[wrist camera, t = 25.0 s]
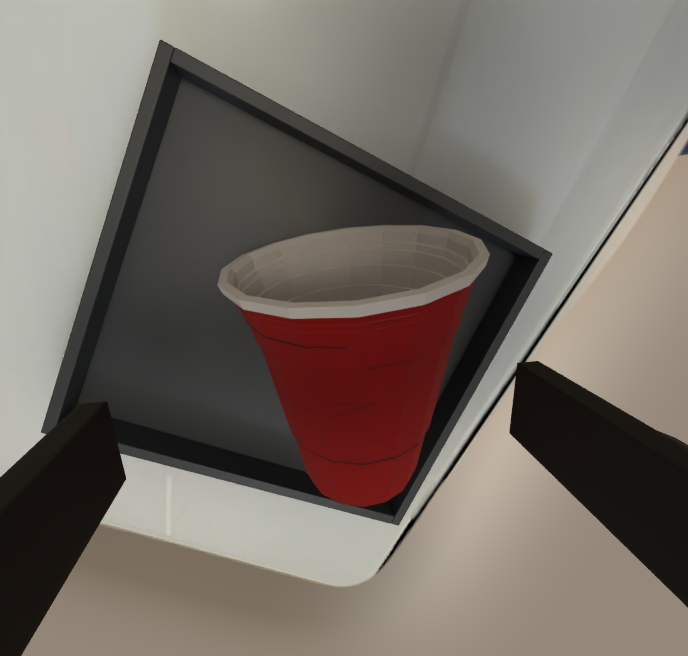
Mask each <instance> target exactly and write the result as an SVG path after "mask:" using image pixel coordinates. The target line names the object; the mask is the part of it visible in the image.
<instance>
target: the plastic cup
mask: <svg viewBox="0 0 688 656" xmlns="http://www.w3.org/2000/svg"><path fill="white" fill-rule="evenodd" d="M489 256H490V254H489V252H488V250H487V248H486V247H485V245H484V243H483V241H482V240H481V239H479V238H476V237H474V236H471V235H468V234H466V233H463V232H461V231H458V230H454V229H446V228H439V227H432V226H425V225H373V226H359V227H346V228H340V229H333V230H327V231H321V232H315V233H308V234H304V235H300V236H296V237H292V238H289V239H285V240H281V241H277V242H273V243H270V244H268V245H265V246H263V247H260V248H257V249H255V250H252V251H250V252H247V253H245V254H242V255H241V256H239V257H238V258H237V259H235V260H234V261H232V262H231V263H229V264H228V265H227V266H225V267H224V268H222V269H221V273H220V277H219V281H218V284H217V285H218V287H219V288H220V290H221V292H222V293H223V295H225V296H226V297H227V298H229V299H230V300H231V301H233V302H234V303H236V305H237V308H238V309H240V310H241V312H242V314H243V316H244V319H245V321H246V323H247V324H249V325H250V327H251V329H252V332H253V334H254V337H255V339H256V342H257V343H258V344H259V345H260V346H261V349H262V352H263V354H264V357H265V360H266V363H267V366H268V368H269V371H270V374H271V377H272V380H273V382H274V385H275V388H276V391H277V394H278V396H279V399H280V402H281V405H282V407H283V410H284V413H285V416H286V419H287V421H288V424H289V427H290V430H291V433H292V434H293V436H294V437H295V438H296V441H297V444H298V447H299V451H300V454H301V457H302V460H303V463H304V466H305V470H306V472H307V474H308V475H309V476H310V478H311V481H312V482H313V483H314V485H315V486H316V487H317V488H318V489H319V491H320V492H321V493H322V494H323V495H325V496H327V497H329V498H331V499H332V500H334V501H336V502H338V503H340V504H346V505H354V506H362V507H365V506H369V505H374V504H379V503H383V502H387V501H388V500H390V499H391V498H393V497H394V496H396V495H397V494H399V493H400V492H402V491H403V490H404V488H405V486H406V485H407V483H408V481H409V480H410V478H411V476H412V474H413V472H414V470H415V469H416V466H417V463H418V459H419V455H420V452H421V448H422V444H423V441H424V437H425V434H426V432H427V431H428V429H429V427H430V423H431V420H432V416H433V412H434V409H435V405H436V401H437V398H438V394H439V390H440V387H441V383H442V379H443V376H444V372H445V368H446V365H447V361H448V357H449V354H450V350H451V347H452V343H453V339H454V336H455V332H456V331H457V330H458V328H459V325H460V321H461V317H462V313H463V308H464V307H465V305H466V304H467V301H468V297H469V293H470V289H471V287H472V286H473V285H474V281H475V279H476V277H477V276H478V275H479V274H480V273H481V271H482V270H483V269H484V268H485V267H486V264H487V261H488V258H489Z"/></svg>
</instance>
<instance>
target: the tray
mask: <svg viewBox="0 0 688 656" xmlns="http://www.w3.org/2000/svg"><path fill="white" fill-rule="evenodd" d="M373 225H425V226H432V227H439V228H446V229H454V230H458V231H461V232H463V233H466V234H468V235H471V236H474V237H476V238H479V239H481V240H482V241H483V243H484V245H485V247H486V248H487V250H488V252H489V254H490V256H489V258H488V261H487V264H486V267H485V268H484V269H483V270H482V271H481V273H480V274H479V275H478V276H477V277H476V279H475V281H474V285H473V286H472V287H471V289H470V293H469V297H468V301H467V304H466V305H465V307H464V308H463V313H462V317H461V321H460V325H459V328H458V330H457V331H456V332H455V336H454V339H453V343H452V347H451V350H450V354H449V357H448V361H447V365H446V368H445V372H444V376H443V379H442V383H441V387H440V390H439V394H438V398H437V401H436V405H435V409H434V412H433V416H432V420H431V423H430V427H429V429H428V431H427V432H426V434H425V437H424V441H423V444H422V448H421V452H420V455H419V459H418V463H417V466H416V469H415V470H414V472H413V474H412V476H411V478H410V480H409V481H408V483H407V485H406V486H405V488H404V490H403V491H402V492H400V493H399V494H397V495H396V496H394V497H393V498H391V499H390V500H388V501H387V502H383V503H379V504H374V505H369V506H365V507H362V506H354V505H346V504H340V503H338V502H336V501H334V500H332V499H331V498H329V497H327V496H325V495H323V494H322V493H321V492H320V491H319V489H318V488H317V487H316V486H315V485H314V483H313V482H312V481H311V478H310V476H309V475H308V474H307V472H306V470H305V466H304V463H303V460H302V457H301V454H300V451H299V447H298V444H297V441H296V438H295V437H294V436H293V434H292V433H291V430H290V427H289V424H288V421H287V419H286V416H285V413H284V410H283V407H282V405H281V402H280V399H279V396H278V394H277V391H276V388H275V385H274V382H273V380H272V377H271V374H270V371H269V368H268V366H267V363H266V360H265V357H264V354H263V352H262V349H261V346H260V345H259V344H258V343H257V342H256V339H255V337H254V334H253V332H252V329H251V327H250V325H249V324H247V323H246V321H245V319H244V316H243V314H242V312H241V310H240V309H238V308H237V305H236V303H234V302H233V301H231V300H230V299H229V298H227V297H226V296H225V295H223V293H222V292H221V290H220V288H219V287H218V285H217V284H218V281H219V277H220V273H221V269H222V268H224V267H225V266H227V265H228V264H229V263H231V262H232V261H234V260H235V259H237V258H238V257H239V256H241V255H242V254H245V253H247V252H250V251H252V250H255V249H257V248H260V247H263V246H265V245H268V244H270V243H273V242H277V241H281V240H285V239H289V238H292V237H296V236H300V235H304V234H308V233H315V232H321V231H327V230H333V229H340V228H346V227H359V226H373ZM551 256H552V253H551V252H549V251H547V250H544V249H543V248H542V247H540V246H538V245H536V244H534V243H532V242H531V241H529V240H527V239H525V238H523V237H521V236H520V235H518V234H516V233H514V232H512V231H510V230H509V229H507V228H505V227H503V226H501V225H499V224H498V223H496V222H494V221H492V220H490V219H488V218H487V217H485V216H483V215H481V214H479V213H477V212H476V211H474V210H472V209H470V208H468V207H467V206H465V205H463V204H461V203H459V202H457V201H456V200H454V199H452V198H450V197H448V196H446V195H445V194H443V193H441V192H439V191H437V190H435V189H434V188H432V187H430V186H428V185H426V184H424V183H423V182H421V181H419V180H417V179H415V178H413V177H412V176H410V175H408V174H406V173H404V172H402V171H401V170H399V169H397V168H395V167H393V166H391V165H390V164H388V163H386V162H384V161H382V160H380V159H379V158H377V157H375V156H373V155H371V154H370V153H368V152H366V151H364V150H362V149H360V148H359V147H357V146H355V145H353V144H351V143H349V142H348V141H346V140H344V139H342V138H340V137H338V136H337V135H335V134H333V133H331V132H329V131H327V130H326V129H324V128H322V127H320V126H318V125H316V124H315V123H313V122H311V121H309V120H307V119H305V118H304V117H302V116H300V115H298V114H296V113H294V112H293V111H291V110H289V109H287V108H285V107H283V106H282V105H280V104H278V103H276V102H274V101H272V100H271V99H269V98H267V97H265V96H263V95H262V94H260V93H258V92H256V91H254V90H252V89H251V88H249V87H247V86H245V85H243V84H241V83H240V82H238V81H236V80H234V79H232V78H230V77H229V76H227V75H225V74H223V73H221V72H219V71H218V70H216V69H214V68H212V67H210V66H208V65H207V64H205V63H203V62H201V61H199V60H197V59H196V58H194V57H192V56H190V55H188V54H186V53H185V52H183V51H181V50H179V49H177V48H174V47H173V46H172V45H170V44H168V43H166V42H164V41H162V40H160V41H159V44H158V48H157V51H156V54H155V58H154V61H153V64H152V67H151V71H150V74H149V77H148V81H147V84H146V87H145V91H144V94H143V97H142V100H141V104H140V107H139V110H138V114H137V117H136V120H135V124H134V127H133V130H132V133H131V137H130V140H129V143H128V147H127V150H126V153H125V156H124V160H123V163H122V166H121V170H120V173H119V176H118V180H117V183H116V186H115V189H114V193H113V196H112V199H111V203H110V206H109V209H108V213H107V216H106V219H105V222H104V226H103V229H102V232H101V236H100V239H99V242H98V246H97V249H96V252H95V255H94V259H93V262H92V265H91V269H90V272H89V275H88V279H87V282H86V285H85V288H84V292H83V295H82V298H81V302H80V305H79V308H78V312H77V315H76V318H75V321H74V325H73V328H72V331H71V335H70V338H69V341H68V344H67V348H66V351H65V354H64V358H63V361H62V364H61V368H60V371H59V374H58V377H57V381H56V384H55V387H54V391H53V394H52V397H51V401H50V404H49V407H48V410H47V414H46V417H45V420H44V424H43V427H42V430H41V433H45V434H47V433H49V432H50V431H51V430H52V429H53V428H54V427H55V426H56V425H57V424H58V423H59V422H60V421H61V420H62V419H64V418H65V417H66V416H67V415H68V414H69V413H70V412H71V411H72V410H73V409H74V408H75V407H76V406H78V405H79V404H82V403H93V402H104V401H107V402H108V406H109V410H110V414H111V418H112V422H113V426H114V431H115V435H116V439H117V443H118V447H119V451H120V453H121V454H125V455H129V456H133V457H136V458H140V459H144V460H148V461H152V462H156V463H159V464H163V465H167V466H171V467H175V468H179V469H183V470H186V471H190V472H194V473H198V474H202V475H206V476H210V477H213V478H217V479H221V480H225V481H229V482H233V483H236V484H240V485H244V486H248V487H252V488H256V489H260V490H263V491H267V492H271V493H275V494H279V495H283V496H287V497H290V498H294V499H298V500H302V501H306V502H310V503H313V504H317V505H321V506H325V507H329V508H333V509H337V510H340V511H344V512H348V513H352V514H356V515H360V516H363V517H367V518H371V519H375V520H379V521H383V522H387V523H392V524H395V525H399V524H400V522H401V520H402V519H403V517H404V515H405V513H406V512H407V510H408V508H409V506H410V504H411V503H412V501H413V499H414V497H415V496H416V494H417V492H418V490H419V489H420V487H421V485H422V483H423V482H424V480H425V478H426V476H427V474H428V473H429V471H430V469H431V467H432V466H433V464H434V462H435V460H436V459H437V457H438V455H439V453H440V452H441V450H442V448H443V446H444V445H445V443H446V441H447V439H448V437H449V436H450V434H451V432H452V430H453V429H454V427H455V425H456V423H457V422H458V420H459V418H460V416H461V415H462V413H463V411H464V409H465V407H466V406H467V404H468V402H469V400H470V399H471V397H472V395H473V393H474V392H475V390H476V388H477V386H478V385H479V383H480V381H481V379H482V378H483V376H484V374H485V372H486V370H487V369H488V367H489V365H490V363H491V362H492V360H493V358H494V356H495V355H496V353H497V351H498V349H499V348H500V346H501V344H502V342H503V340H504V339H505V337H506V335H507V333H508V332H509V330H510V328H511V326H512V325H513V323H514V321H515V319H516V318H517V316H518V314H519V312H520V311H521V309H522V307H523V305H524V303H525V302H526V300H527V298H528V296H529V295H530V293H531V291H532V289H533V288H534V286H535V284H536V282H537V281H538V279H539V277H540V275H541V273H542V272H543V270H544V268H545V266H546V265H547V263H548V261H549V259H550V258H551Z"/></svg>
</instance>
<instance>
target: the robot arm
mask: <svg viewBox="0 0 688 656" xmlns="http://www.w3.org/2000/svg"><path fill="white" fill-rule="evenodd" d="M510 434H511V435H512V436H513V437H514V438H515V439H516V440H517V441H518V442H519V443H521V445H522V446H523V447H524V448H525V449H526V450H527V451H528V452H529V453H530V454H531V455H532V456H533V457H534V458H536V459H537V460H538V461H539V462H540V463H541V464H542V465H543V466H544V467H545V468H546V469H547V470H548V471H549V472H550V473H551V474H552V475H553V476H554V477H555V478H556V479H557V480H558V481H559V482H560V483H561V484H562V485H563V486H565V488H566V489H567V490H568V491H569V492H570V493H571V494H572V495H573V496H574V497H575V498H576V499H577V500H578V501H579V502H581V503H582V504H583V505H584V506H585V507H586V508H587V509H588V510H589V511H590V512H591V513H592V514H593V515H594V516H595V517H596V518H597V519H598V520H599V521H600V522H601V523H602V524H603V525H604V526H605V527H606V528H607V529H608V530H609V531H610V532H611V533H612V534H613V535H614V536H615V537H616V538H617V539H618V540H619V541H620V542H621V543H623V544H624V546H626V547H627V548H628V549H629V550H630V551H631V552H632V553H633V554H634V555H635V556H636V557H637V558H638V559H639V560H640V561H641V562H642V563H643V564H644V565H645V566H646V567H647V568H648V569H649V570H650V571H651V572H652V573H653V574H654V575H655V576H656V577H657V578H658V579H659V580H660V581H661V582H662V583H663V584H664V585H666V587H668V589H670V590H671V591H672V592H673V593H674V594H675V595H676V596H677V597H678V598H679V599H680V600H681V601H682V602H683V603H684V604H685V605H686V606H687V607H688V445H687V444H685V443H683V442H682V441H680V440H678V439H676V438H674V437H672V436H669V435H667V434H664V433H662V432H659V431H657V430H655V429H653V428H651V427H650V426H648V425H646V424H645V423H643V422H641V421H640V420H638V419H636V418H634V417H633V416H631V415H629V414H627V413H626V412H624V411H622V410H621V409H619V408H617V407H616V406H614V405H612V404H610V403H609V402H607V401H605V400H604V399H602V398H600V397H598V396H597V395H595V394H593V393H592V392H590V391H588V390H587V389H585V388H583V387H581V386H580V385H578V384H576V383H575V382H573V381H571V380H569V379H567V378H566V377H564V376H563V375H561V374H559V373H557V372H556V371H554V370H552V369H551V368H549V367H547V366H545V365H543V364H542V363H540V362H538V361H534V362H523V363H517V371H516V380H515V389H514V398H513V407H512V415H511V424H510ZM125 480H126V476H125V472H124V468H123V464H122V459H121V455H120V451H119V447H118V443H117V439H116V435H115V431H114V426H113V422H112V418H111V414H110V410H109V406H108V402H107V401H104V402H93V403H82V404H79V405H78V406H76V407H75V408H74V409H73V410H72V411H71V412H70V413H69V414H68V415H67V416H66V417H65V418H64V419H62V420H61V421H60V422H59V423H58V424H57V425H56V426H55V427H54V428H53V429H52V430H51V431H50V432H49V433H47V434H46V435H45V436H44V437H43V438H42V439H41V440H40V441H39V442H38V443H37V444H36V445H35V446H34V447H32V448H31V449H30V450H29V451H28V452H27V453H26V454H25V455H24V456H23V457H22V458H21V459H20V460H18V461H17V462H16V463H15V464H14V465H13V466H12V467H11V468H10V469H9V470H8V471H7V472H6V473H5V474H3V475H2V476H1V477H0V656H21V655H22V653H23V652H24V650H25V648H26V646H27V645H28V643H29V642H30V640H31V638H32V637H33V635H34V633H35V632H36V630H37V628H38V626H39V625H40V623H41V621H42V620H43V618H44V616H45V615H46V613H47V611H48V610H49V608H50V606H51V604H52V603H53V601H54V599H55V598H56V596H57V594H58V592H59V591H60V589H61V588H62V586H63V584H64V583H65V581H66V579H67V578H68V576H69V574H70V572H71V571H72V569H73V568H74V566H75V564H76V562H77V561H78V559H79V557H80V556H81V554H82V552H83V551H84V549H85V547H86V546H87V544H88V542H89V541H90V539H91V537H92V535H93V534H94V532H95V531H96V529H97V527H98V525H99V524H100V522H101V520H102V519H103V517H104V515H105V514H106V512H107V510H108V509H109V507H110V505H111V504H112V502H113V500H114V499H115V497H116V495H117V494H118V492H119V490H120V488H121V487H122V485H123V483H124V482H125Z"/></svg>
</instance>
